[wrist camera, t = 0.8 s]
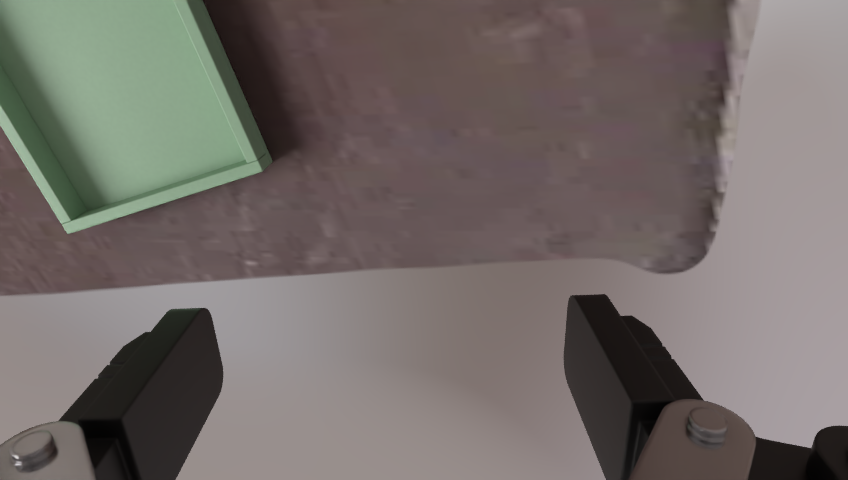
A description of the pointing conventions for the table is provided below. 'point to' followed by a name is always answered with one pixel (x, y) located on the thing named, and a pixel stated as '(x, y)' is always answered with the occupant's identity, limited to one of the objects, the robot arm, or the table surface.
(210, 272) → the table surface
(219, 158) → the tray
